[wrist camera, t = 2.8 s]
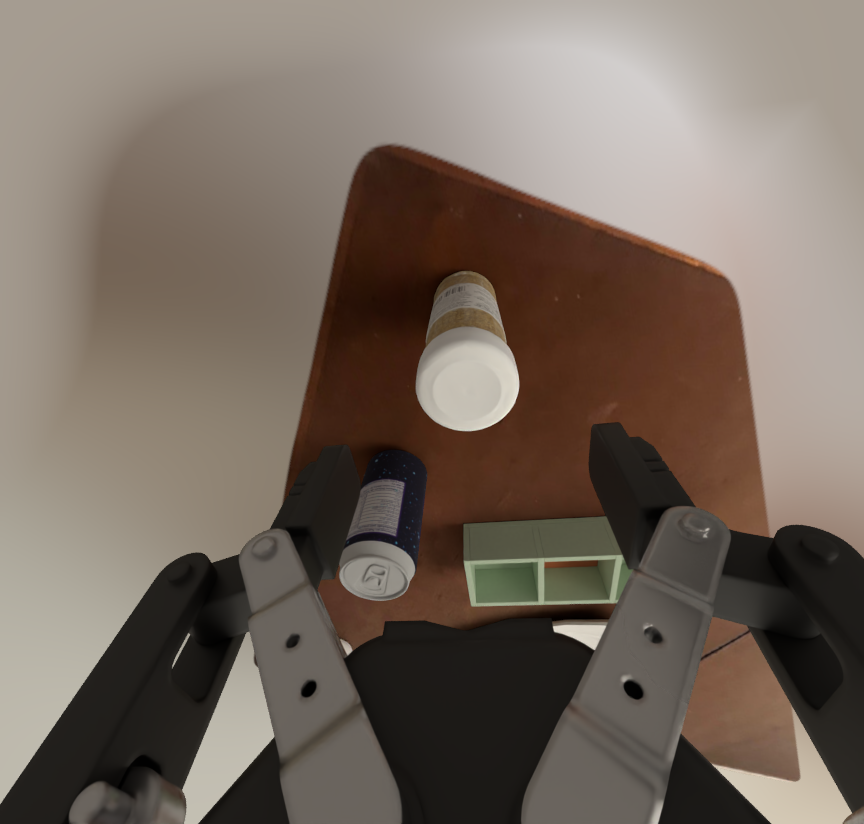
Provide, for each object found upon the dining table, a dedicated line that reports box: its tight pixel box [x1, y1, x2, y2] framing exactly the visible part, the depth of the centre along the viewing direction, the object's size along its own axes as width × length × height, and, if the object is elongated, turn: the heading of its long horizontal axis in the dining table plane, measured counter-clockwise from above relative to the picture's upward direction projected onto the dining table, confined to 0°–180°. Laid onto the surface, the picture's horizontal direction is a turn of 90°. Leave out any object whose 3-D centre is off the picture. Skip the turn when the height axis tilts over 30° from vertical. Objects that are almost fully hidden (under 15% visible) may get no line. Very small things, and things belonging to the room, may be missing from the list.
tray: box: [463, 516, 633, 606], centre depth 39 cm, size 21×8×5 cm, turn 99°
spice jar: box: [416, 271, 519, 431], centre depth 22 cm, size 5×5×13 cm
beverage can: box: [339, 450, 427, 601], centre depth 32 cm, size 6×6×12 cm
